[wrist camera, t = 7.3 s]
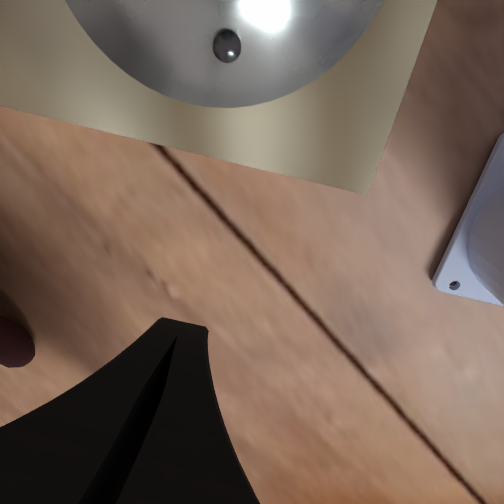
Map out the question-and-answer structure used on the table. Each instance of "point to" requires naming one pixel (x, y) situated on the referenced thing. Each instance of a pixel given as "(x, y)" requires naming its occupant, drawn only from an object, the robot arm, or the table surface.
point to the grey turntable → (224, 44)
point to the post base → (221, 119)
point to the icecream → (14, 344)
